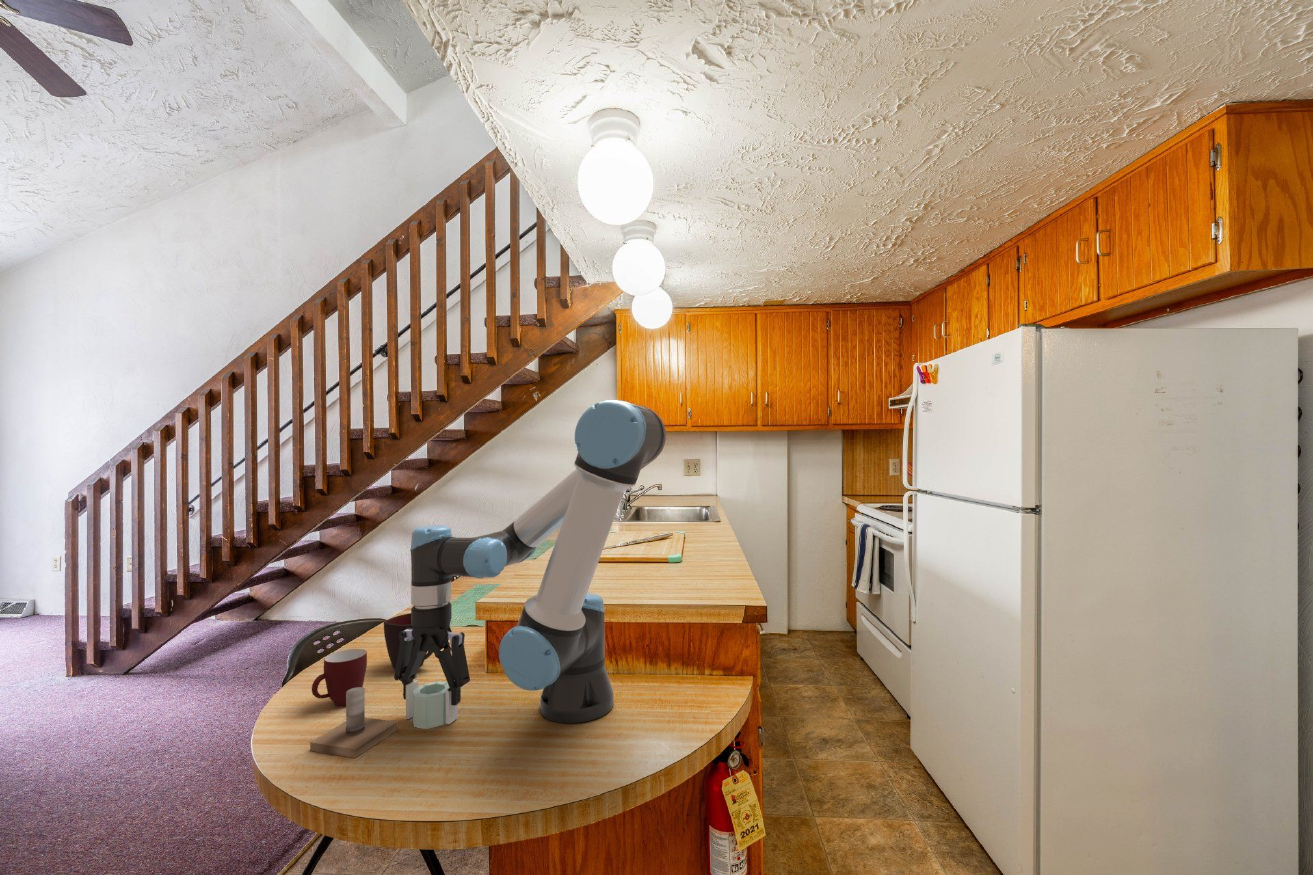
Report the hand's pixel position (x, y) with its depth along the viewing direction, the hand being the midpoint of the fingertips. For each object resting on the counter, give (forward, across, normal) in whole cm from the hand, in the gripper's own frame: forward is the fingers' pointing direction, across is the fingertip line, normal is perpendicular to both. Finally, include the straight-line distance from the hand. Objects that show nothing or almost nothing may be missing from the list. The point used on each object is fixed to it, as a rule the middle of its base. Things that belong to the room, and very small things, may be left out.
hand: (431, 717), depth 106 cm
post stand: (0, +9, +10) cm, 13 cm away
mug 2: (0, +22, -22) cm, 31 cm away
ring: (0, 0, 0) cm, 0 cm away
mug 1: (0, +24, -1) cm, 24 cm away
